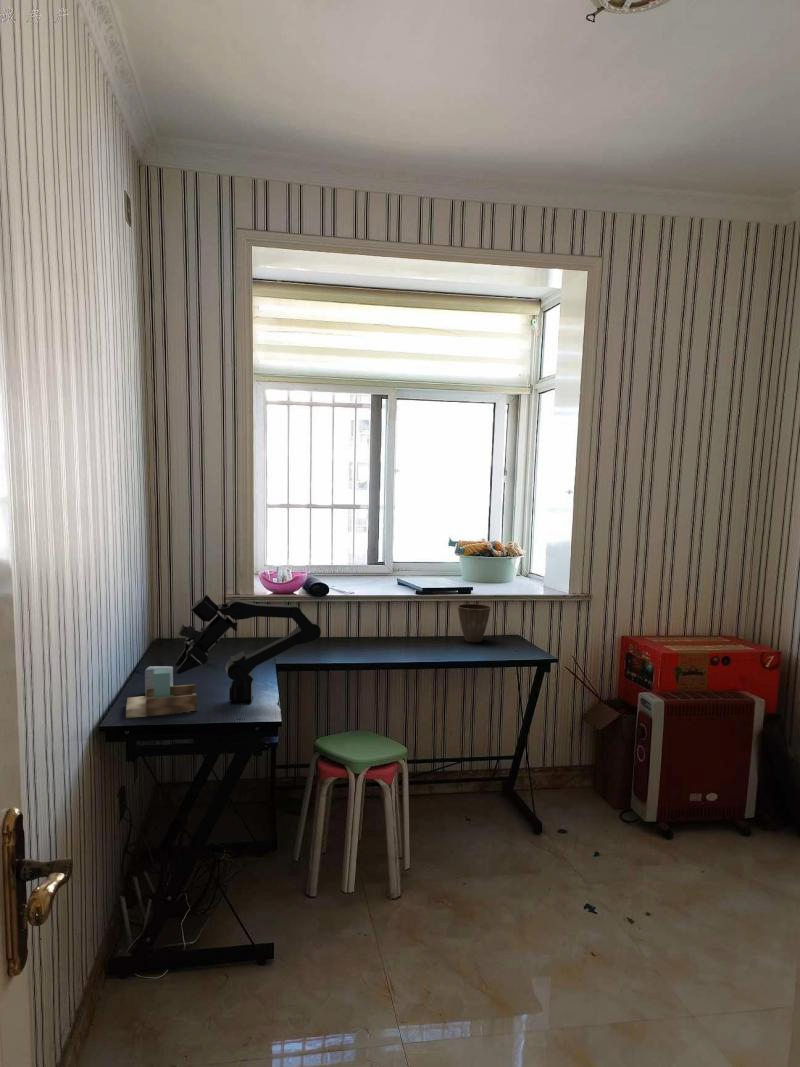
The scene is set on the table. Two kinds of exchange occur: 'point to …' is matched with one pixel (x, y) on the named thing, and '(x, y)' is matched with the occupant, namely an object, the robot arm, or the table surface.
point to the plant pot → (473, 621)
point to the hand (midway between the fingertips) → (176, 669)
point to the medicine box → (150, 676)
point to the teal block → (161, 683)
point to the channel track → (163, 702)
